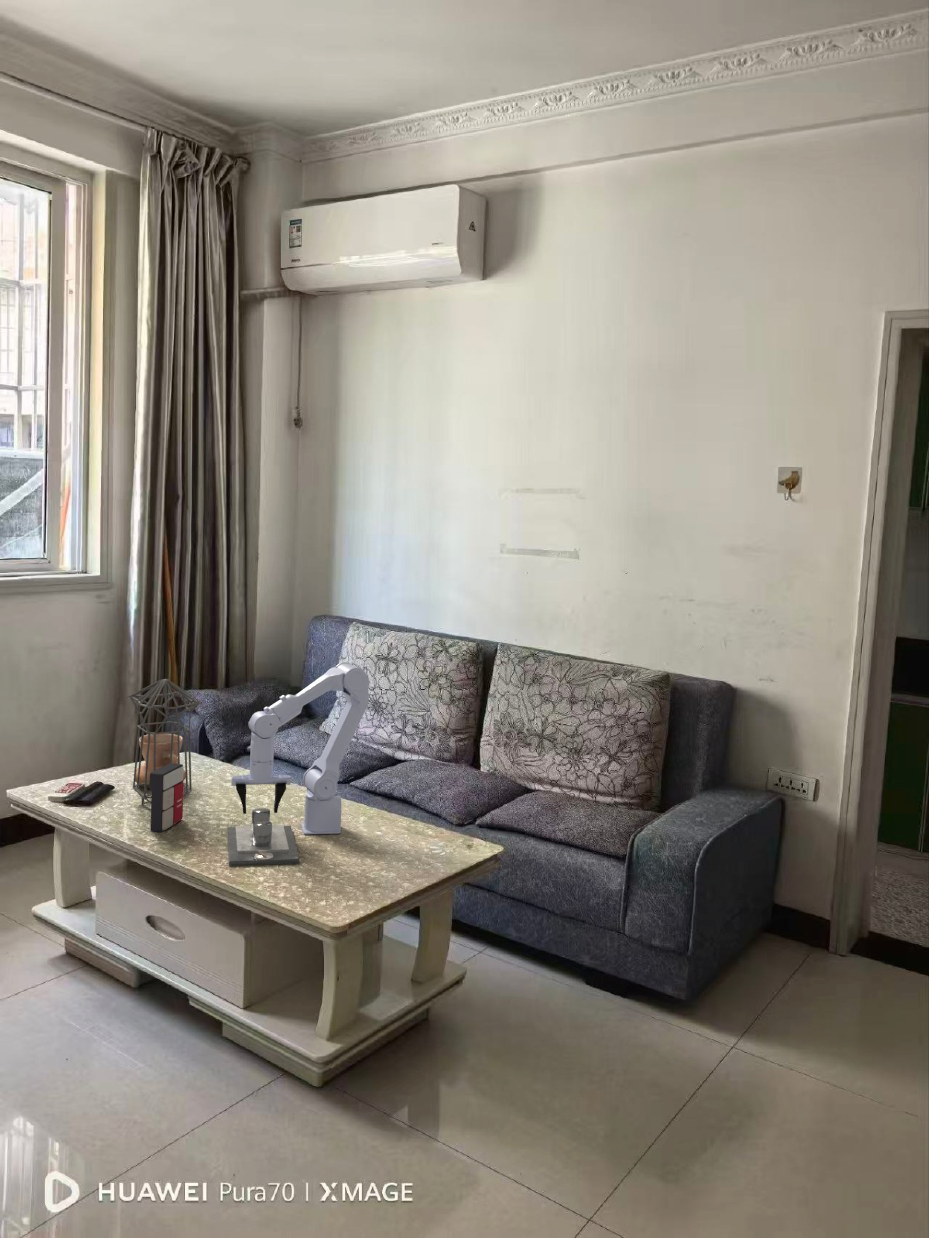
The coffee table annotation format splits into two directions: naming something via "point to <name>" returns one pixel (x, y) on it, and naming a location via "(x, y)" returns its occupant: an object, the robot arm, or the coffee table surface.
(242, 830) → the pan
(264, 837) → the cylinder
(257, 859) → the base
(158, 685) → the geometric lantern
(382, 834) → the coffee table surface
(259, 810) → the cylinder
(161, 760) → the ceramic jug
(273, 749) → the robot arm
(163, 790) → the grey and red box
